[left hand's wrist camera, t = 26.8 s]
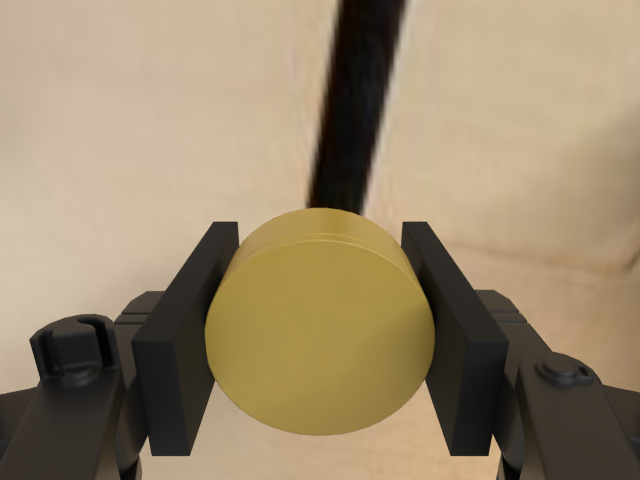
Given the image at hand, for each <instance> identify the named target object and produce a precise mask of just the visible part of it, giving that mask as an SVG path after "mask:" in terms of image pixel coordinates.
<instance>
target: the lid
mask: <svg viewBox="0 0 640 480" xmlns="http://www.w3.org/2000/svg"><path fill="white" fill-rule="evenodd" d="M204 329H205V342H206V351H207V359H208V364H209V367H210V369H211V371H212V374H213V376H214V378H215V380H216V381H217V383H218V385H219V386H220V388H221V389H222V390H223V392H224V393H225V394H226V395H227V397H228V398H229V399H230V400H231V401H232V402H233V403H234V404H235V405H237V406H238V407H239V408H240V409H241V410H243V411H244V412H245V413H247V414H248V415H249V416H251V417H253V418H255V419H256V420H258V421H260V422H262V423H264V424H266V425H269V426H271V427H273V428H277V429H280V430H283V431H286V432H291V433H296V434H302V435H312V436H328V435H337V434H344V433H349V432H353V431H357V430H360V429H363V428H366V427H369V426H371V425H373V424H376V423H378V422H380V421H382V420H383V419H385V418H387V417H388V416H390V415H392V414H393V413H394V412H396V411H397V410H398V409H400V408H401V407H402V406H403V405H404V404H405V403H406V402H407V401H409V400H410V399H411V398H412V396H413V395H414V394H415V393H416V391H417V390H418V389H419V387H420V386H421V384H422V383H423V381H424V379H425V378H426V375H427V373H428V371H429V368H430V366H431V363H432V359H433V353H434V344H435V324H434V319H433V314H432V311H431V309H430V306H429V303H428V301H427V299H426V296H425V294H424V292H423V290H422V288H421V286H420V283H419V281H418V279H417V277H416V275H415V273H414V270H413V268H412V266H411V264H410V262H409V260H408V258H407V256H406V254H405V253H404V251H403V249H402V248H401V247H400V246H399V244H398V243H397V242H396V240H395V239H394V238H393V237H392V236H391V235H389V234H388V233H387V232H386V231H385V230H384V229H382V228H381V227H380V226H378V225H377V224H375V223H373V222H372V221H370V220H368V219H366V218H364V217H361V216H359V215H356V214H354V213H351V212H347V211H343V210H338V209H329V208H310V209H303V210H297V211H293V212H289V213H286V214H283V215H281V216H278V217H276V218H273V219H272V220H270V221H268V222H266V223H265V224H263V225H261V226H260V227H259V228H257V229H256V230H255V231H254V232H252V233H251V234H250V235H249V236H248V237H247V238H246V239H245V240H244V241H243V243H242V244H241V245H240V247H239V248H238V249H237V251H236V252H235V254H234V256H233V258H232V260H231V261H230V263H229V266H228V268H227V270H226V272H225V274H224V276H223V278H222V281H221V283H220V285H219V287H218V289H217V291H216V294H215V296H214V298H213V300H212V302H211V305H210V308H209V310H208V313H207V317H206V322H205V327H204Z"/></svg>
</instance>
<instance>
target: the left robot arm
mask: <svg viewBox="0 0 640 480" xmlns="http://www.w3.org/2000/svg"><path fill="white" fill-rule="evenodd" d="M238 248H239V235H238V222H213V223H212V225H211V226H210V228H209V229H208V231H207V232H206V233H205V235H204V236H203V238H202V239H201V241H200V242H199V244H198V245H197V246H196V248H195V249H194V251H193V252H192V254H191V255H190V256H189V258H188V259H187V261H186V262H185V264H184V265H183V267H182V268H181V269H180V271H179V272H178V274H177V275H176V277H175V278H174V279H173V281H172V282H171V284H170V285H169V287H168V288H167V290H166V291H147V292H145V293H143V294H142V295H140V296H138V297H137V298H135V299H134V300H132V301H131V302H130V303H129V304H128V305H127V306H126V308H125V309H124V310H123V311H122V313H121V315H119V316H118V318H117V319H116V320H115V321H114V324H113V321H112V320H110V319H109V318H108V317H106V316H102V315H97V314H83V315H76V316H72V317H67V318H63V319H61V320H58V321H55V322H53V323H50V324H48V325H47V326H45V327H43V328H42V329H40V330H38V331H37V332H36V333H35V334H34V335H33V336H32V337H31V338H30V339H29V340H30V344H31V347H32V351H33V355H34V358H35V362H36V365H37V369H38V372H39V376H40V381H39V383H38V385H37V387H34V388H30V389H26V390H21V391H16V392H11V393H6V394H1V395H0V480H141V479H142V468H141V462H140V457H139V453H140V451H141V449H142V447H143V445H144V443H145V440H146V438H147V436H148V437H149V443H150V448H151V454H152V456H190V453H191V450H192V448H193V445H194V442H195V439H196V436H197V433H198V430H199V427H200V424H201V421H202V418H203V415H204V412H205V409H206V406H207V403H208V400H209V397H210V394H211V391H212V388H213V385H214V382H215V378H214V376H213V374H212V371H211V369H210V367H209V364H208V359H207V351H206V342H205V329H204V327H205V322H206V317H207V313H208V310H209V308H210V305H211V302H212V300H213V298H214V296H215V294H216V291H217V289H218V287H219V285H220V283H221V281H222V278H223V276H224V274H225V272H226V270H227V268H228V266H229V263H230V261H231V260H232V258H233V256H234V254H235V252H236V251H237V249H238ZM401 248H402V249H403V251H404V253H405V254H406V256H407V258H408V260H409V262H410V264H411V266H412V268H413V270H414V273H415V275H416V277H417V279H418V281H419V283H420V286H421V288H422V290H423V292H424V294H425V296H426V299H427V301H428V303H429V306H430V309H431V311H432V314H433V319H434V324H435V344H434V353H433V359H432V363H431V366H430V368H429V371H428V373H427V375H426V378H425V381H426V384H427V387H428V390H429V393H430V396H431V399H432V402H433V405H434V408H435V411H436V414H437V417H438V420H439V423H440V426H441V429H442V432H443V435H444V438H445V441H446V444H447V447H448V450H449V453H450V456H488V455H489V450H490V444H491V439H492V434H493V435H494V438H495V440H496V442H497V444H498V446H499V448H500V450H501V457H500V462H499V467H498V472H497V477H496V480H640V393H639V392H634V391H629V390H624V389H619V388H614V387H610V386H606V385H602V383H601V380H600V379H599V377H598V376H597V375H596V374H595V372H594V371H593V370H592V369H591V368H589V367H588V366H587V365H585V364H584V363H582V362H581V361H579V360H577V359H574V358H572V357H570V356H568V355H565V354H561V353H556V352H552V351H551V349H550V348H549V347H548V346H547V344H546V343H545V342H544V341H543V340H542V338H541V337H540V336H539V335H538V334H537V332H536V331H535V330H534V329H533V327H532V326H531V325H530V324H529V323H527V320H526V319H525V318H524V316H523V315H522V314H520V313H519V310H518V309H517V308H516V307H515V305H514V304H513V303H512V302H511V301H510V300H509V299H508V298H506V297H505V296H503V295H501V294H500V293H498V292H496V291H495V290H474V289H473V288H472V286H471V285H470V283H469V282H468V280H467V279H466V278H465V276H464V275H463V273H462V272H461V270H460V269H459V268H458V266H457V265H456V263H455V262H454V260H453V259H452V257H451V256H450V255H449V253H448V252H447V250H446V249H445V247H444V246H443V245H442V243H441V242H440V240H439V239H438V237H437V236H436V234H435V233H434V232H433V230H432V229H431V227H430V226H429V224H428V223H427V222H403V226H402V239H401Z"/></svg>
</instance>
